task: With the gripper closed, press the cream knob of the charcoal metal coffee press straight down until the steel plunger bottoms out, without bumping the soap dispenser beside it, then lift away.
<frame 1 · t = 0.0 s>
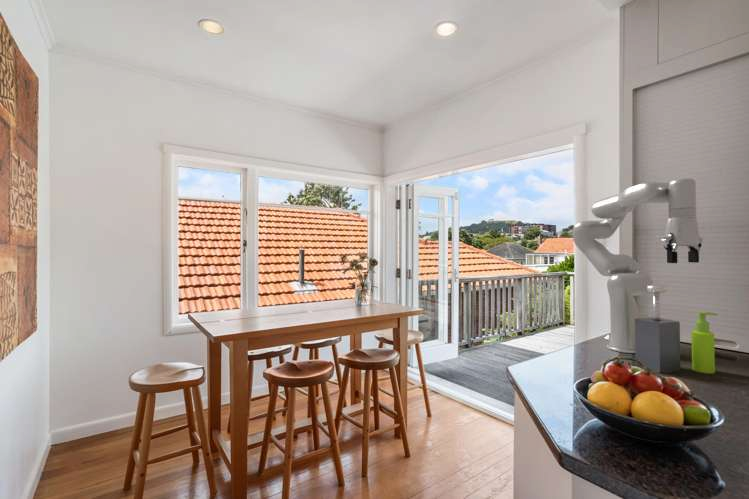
hand: (682, 262, 132), 37 cm above the countertop, tool pointing down, fingers open, 9 cm apart
plunger: (656, 313, 132), point 19 cm above the countertop, slide at 8.0 cm
soap dispenser: (705, 371, 128), on the countertop
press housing: (657, 367, 132), on the countertop
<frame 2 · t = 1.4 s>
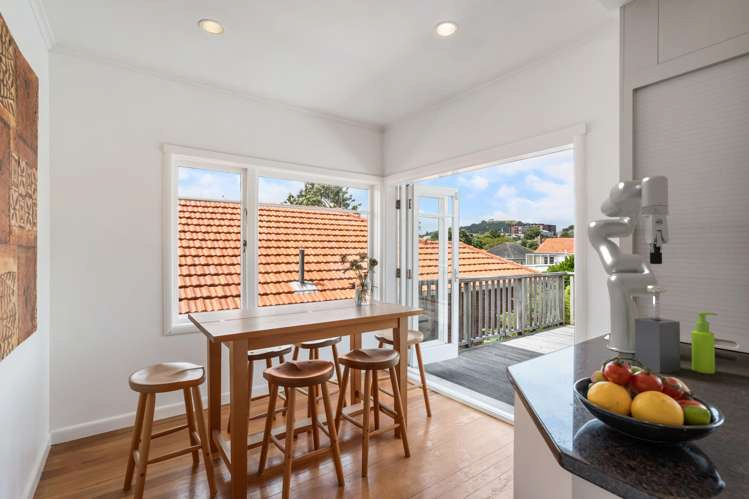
hand: (655, 263, 131), 37 cm above the countertop, tool pointing down, fingers closed
nothing on the countertop moved.
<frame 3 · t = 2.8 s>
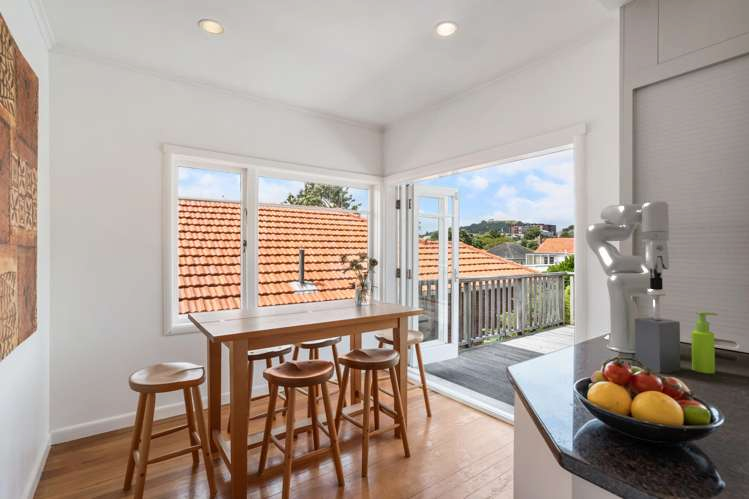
hand: (656, 289, 131), 28 cm above the countertop, tool pointing down, fingers closed
plunger: (656, 316, 132), point 18 cm above the countertop, slide at 6.8 cm, touching gripper
everything else where it was.
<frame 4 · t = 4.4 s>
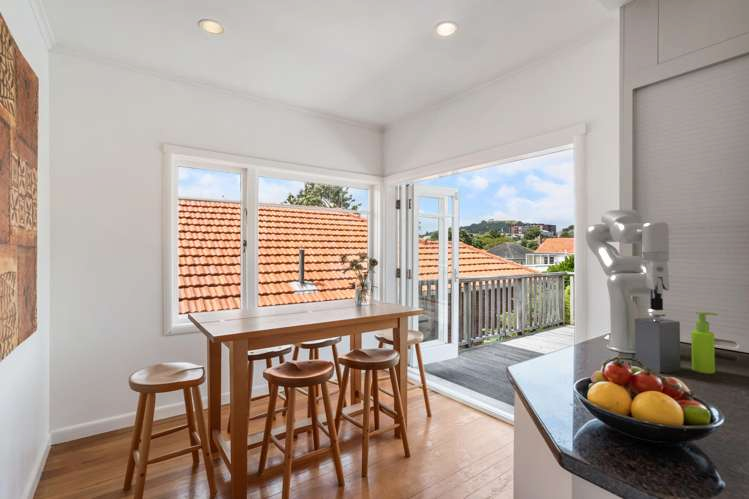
hand: (656, 309, 131), 21 cm above the countertop, tool pointing down, fingers closed
plunger: (656, 336, 132), point 11 cm above the countertop, slide at -0.2 cm, touching gripper
everything else where it was.
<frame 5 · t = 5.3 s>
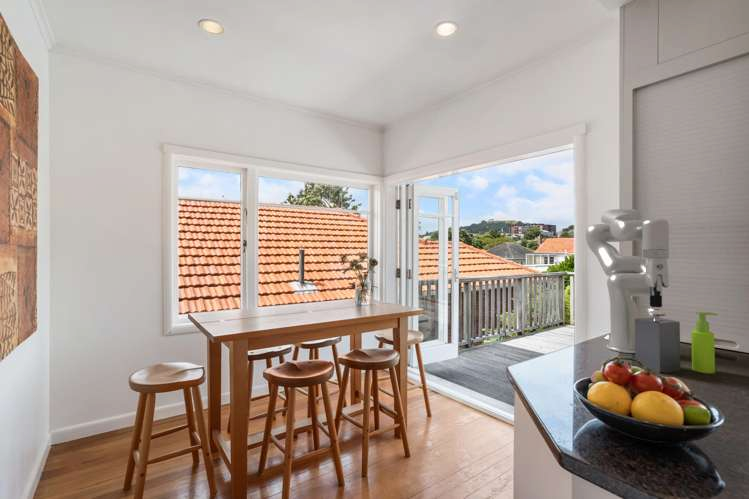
hand: (655, 306, 132), 21 cm above the countertop, tool pointing down, fingers closed
plunger: (656, 336, 132), point 11 cm above the countertop, slide at -0.1 cm
everything else where it was.
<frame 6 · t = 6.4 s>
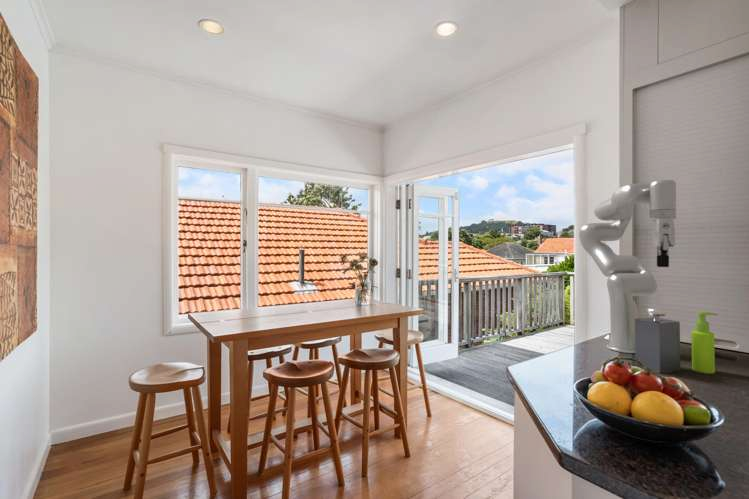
hand: (662, 266, 134), 35 cm above the countertop, tool pointing down, fingers closed
nothing on the countertop moved.
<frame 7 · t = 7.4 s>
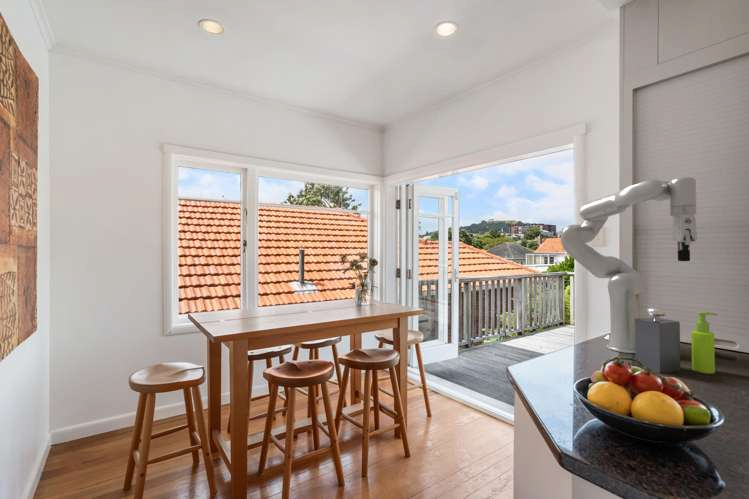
hand: (683, 260, 139), 37 cm above the countertop, tool pointing down, fingers closed
nothing on the countertop moved.
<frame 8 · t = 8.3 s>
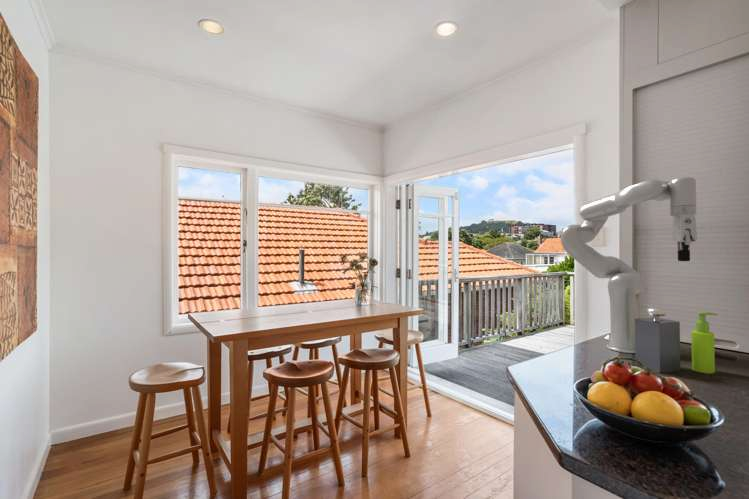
hand: (683, 260, 139), 37 cm above the countertop, tool pointing down, fingers closed
nothing on the countertop moved.
at the end: plunger slide at -0.1 cm; soap dispenser moved 0.2 cm from its start; soap dispenser tilted 0° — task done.
